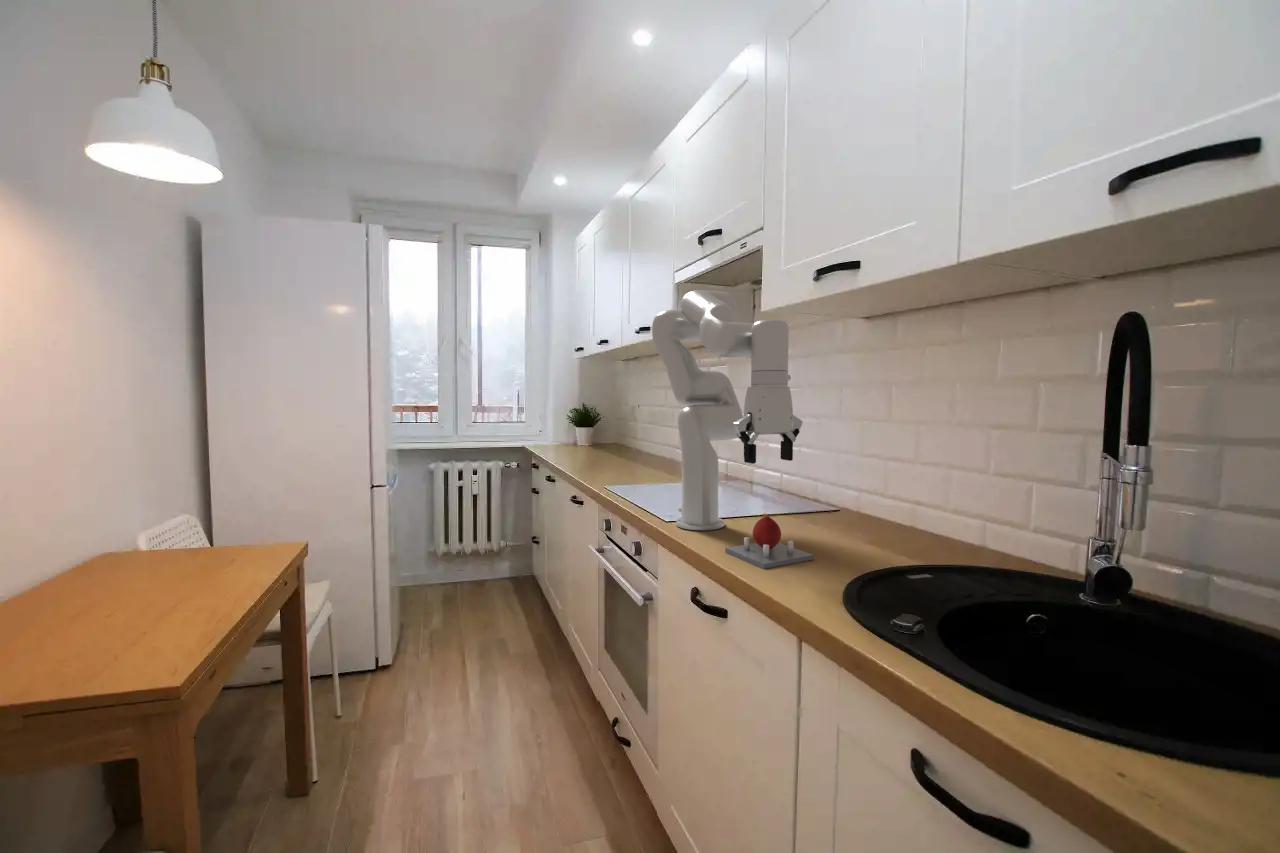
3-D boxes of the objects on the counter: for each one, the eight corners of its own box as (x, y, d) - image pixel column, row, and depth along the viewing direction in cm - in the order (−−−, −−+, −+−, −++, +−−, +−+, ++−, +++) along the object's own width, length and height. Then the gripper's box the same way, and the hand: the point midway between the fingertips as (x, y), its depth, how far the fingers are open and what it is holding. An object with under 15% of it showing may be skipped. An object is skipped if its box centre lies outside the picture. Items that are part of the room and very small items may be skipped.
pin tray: (725, 552, 123) (725, 536, 122) (772, 544, 128) (772, 529, 128) (763, 568, 111) (763, 551, 111) (813, 559, 117) (813, 543, 117)
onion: (770, 546, 124) (769, 510, 123) (787, 551, 118) (785, 513, 118) (748, 549, 121) (746, 512, 121) (764, 555, 116) (762, 516, 116)
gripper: (789, 380, 125) (788, 457, 126) (724, 380, 117) (724, 462, 118) (813, 379, 118) (812, 460, 119) (746, 379, 110) (746, 466, 111)
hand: (768, 461), depth 119 cm, fingers open, 9 cm apart
